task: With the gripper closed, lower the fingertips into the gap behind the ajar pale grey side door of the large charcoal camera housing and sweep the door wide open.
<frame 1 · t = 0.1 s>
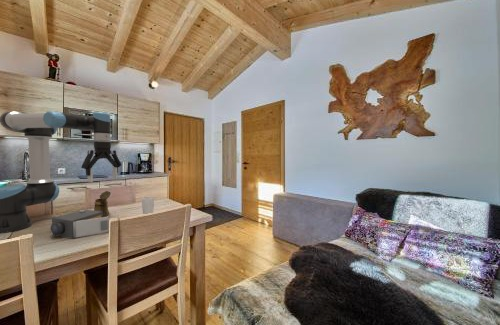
hand: (103, 180, 112), 28 cm above the table, tool pointing down, fingers open, 13 cm apart
drinking glass: (148, 221, 129), on the table
side door: (91, 227, 106), point 5 cm above the table, hinge at 40.0°
brown irregular piece: (102, 216, 135), on the table
camera housing: (79, 230, 111), on the table
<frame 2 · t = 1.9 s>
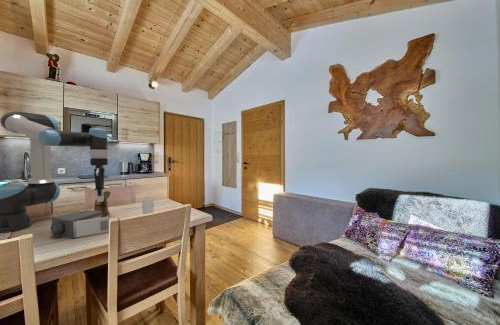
hand: (100, 201, 110), 17 cm above the table, tool pointing down, fingers closed
nothing on the table moved.
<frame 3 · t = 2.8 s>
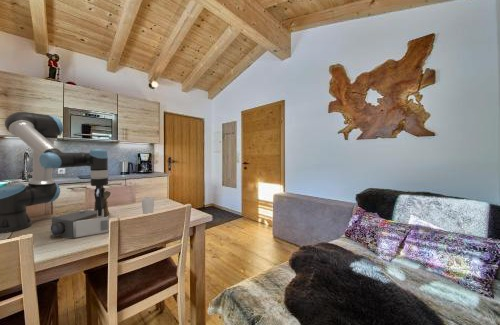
hand: (100, 220, 111), 6 cm above the table, tool pointing down, fingers closed
nothing on the table moved.
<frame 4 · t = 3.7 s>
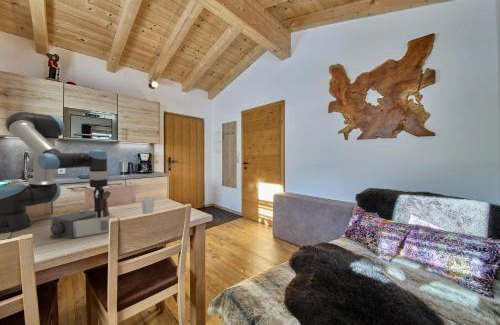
hand: (99, 222, 109), 6 cm above the table, tool pointing down, fingers closed
side door: (91, 227, 106), point 5 cm above the table, hinge at 40.0°, touching gripper
everything else where it was.
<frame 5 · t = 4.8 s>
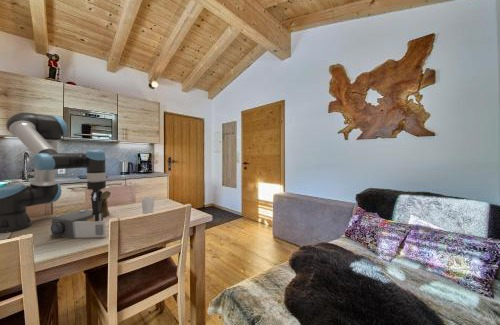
hand: (97, 226, 104), 5 cm above the table, tool pointing down, fingers closed
side door: (88, 229, 102), point 5 cm above the table, hinge at 70.3°, touching gripper
everything else where it was.
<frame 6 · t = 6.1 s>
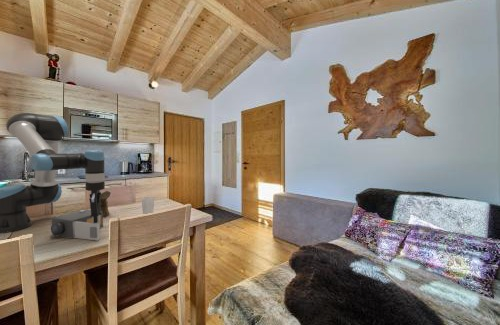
hand: (96, 228, 102), 5 cm above the table, tool pointing down, fingers closed
side door: (85, 231, 100), point 5 cm above the table, hinge at 86.2°, touching gripper
everything else where it was.
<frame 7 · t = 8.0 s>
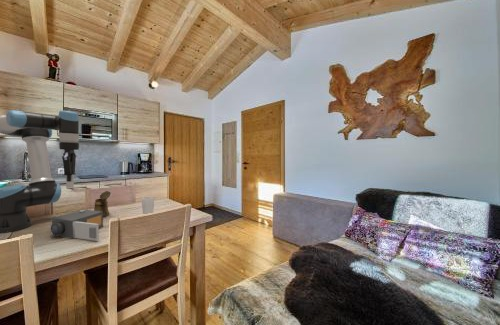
hand: (70, 187, 106), 25 cm above the table, tool pointing down, fingers closed
side door: (84, 231, 100), point 5 cm above the table, hinge at 87.9°
everything else where it was.
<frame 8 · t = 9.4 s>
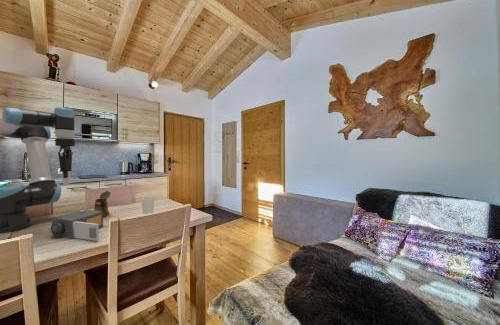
hand: (66, 183, 107), 26 cm above the table, tool pointing down, fingers closed
nothing on the table moved.
at the end: side door at +88° (first picture: +40°); drinking glass moved 0.2 cm from its start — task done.
